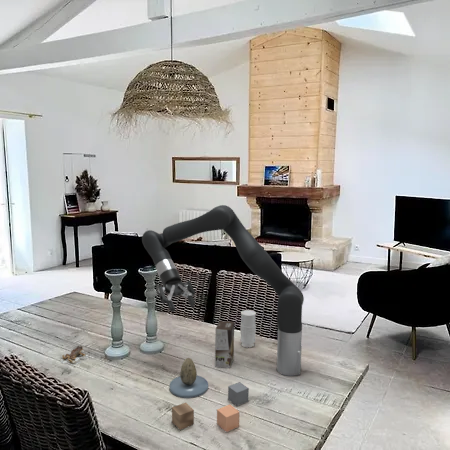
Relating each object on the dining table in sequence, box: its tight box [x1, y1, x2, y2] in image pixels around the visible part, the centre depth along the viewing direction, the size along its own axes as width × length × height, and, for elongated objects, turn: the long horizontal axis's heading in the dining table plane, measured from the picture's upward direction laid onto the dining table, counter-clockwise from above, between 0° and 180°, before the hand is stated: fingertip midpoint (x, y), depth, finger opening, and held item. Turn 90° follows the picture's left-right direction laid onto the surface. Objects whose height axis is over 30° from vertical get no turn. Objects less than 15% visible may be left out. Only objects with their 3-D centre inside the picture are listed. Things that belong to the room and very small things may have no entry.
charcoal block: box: [227, 381, 250, 407], centre depth 144 cm, size 5×5×5 cm
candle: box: [239, 309, 257, 348], centre depth 187 cm, size 7×7×15 cm
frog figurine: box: [60, 345, 89, 366], centre depth 174 cm, size 12×12×4 cm
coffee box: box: [214, 320, 235, 369], centre depth 170 cm, size 9×6×16 cm
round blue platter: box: [169, 375, 209, 399], centre depth 152 cm, size 14×14×1 cm
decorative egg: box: [179, 357, 197, 385], centre depth 151 cm, size 6×6×10 cm
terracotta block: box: [216, 403, 240, 433], centre depth 130 cm, size 5×5×5 cm
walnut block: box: [171, 402, 195, 431], centre depth 131 cm, size 5×5×5 cm
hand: (183, 308), depth 160 cm, fingers open, 8 cm apart
